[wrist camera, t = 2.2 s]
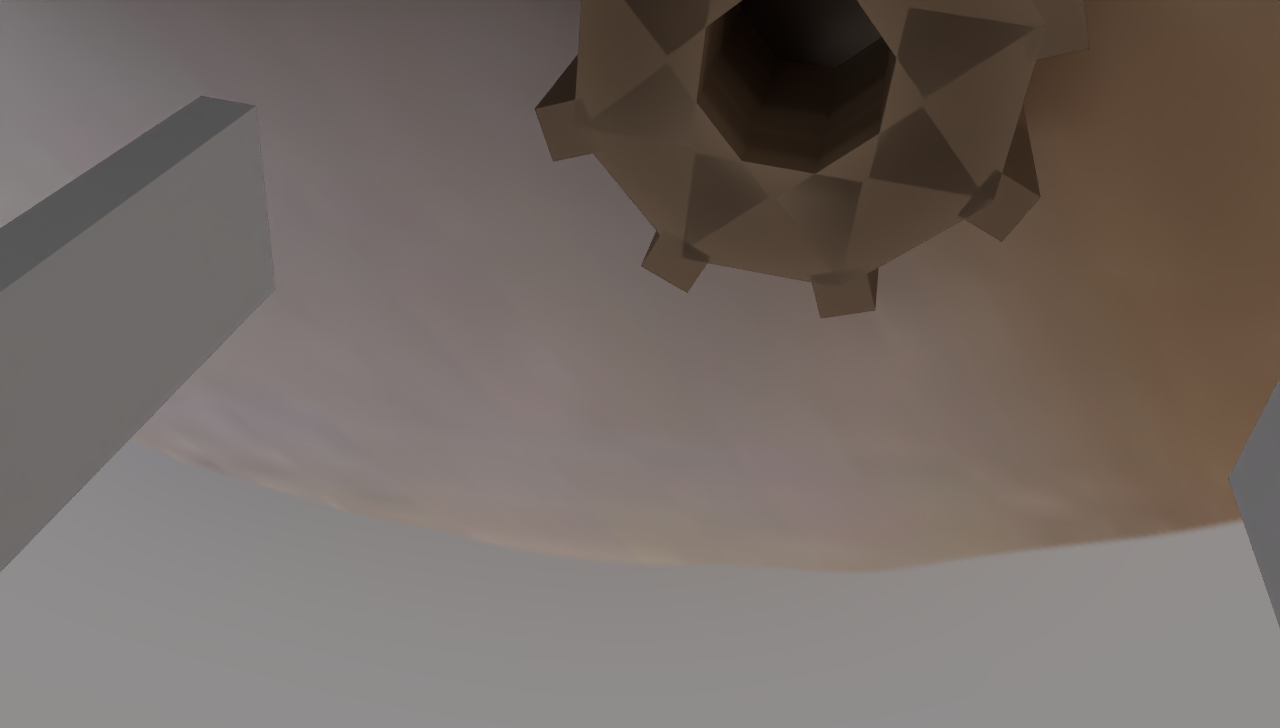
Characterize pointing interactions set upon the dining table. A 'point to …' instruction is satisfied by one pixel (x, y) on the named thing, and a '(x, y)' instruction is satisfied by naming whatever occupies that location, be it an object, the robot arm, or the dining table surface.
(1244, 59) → the dining table surface
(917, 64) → the gear
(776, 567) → the dining table surface
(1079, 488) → the dining table surface
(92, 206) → the robot arm
